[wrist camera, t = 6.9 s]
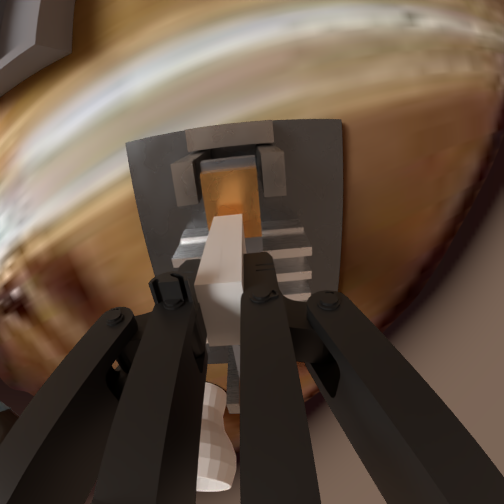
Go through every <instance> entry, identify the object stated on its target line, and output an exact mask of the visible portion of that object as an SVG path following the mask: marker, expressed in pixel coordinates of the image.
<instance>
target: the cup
mask: <svg viewBox="0 0 504 504" xmlns="http://www.w3.org/2000/svg"><path fill="white" fill-rule="evenodd" d="M226 397H227V394H226V392H225V391H224V390H223V389H221V388H220V387H218V386H216V385H214V384H211V383H207V382H205V392H204V402H203V412H202V423H201V434H200V446H199V458H198V472H197V487H196V491H206V492H207V491H208V492H213V491H215V492H216V491H224V490H228V489H230V488H231V486H232V482H233V479H234V475H235V472H236V455H235V452H234V449H233V446H232V443H231V441H230V440H229V438H228V436H227V434H226V432H225V431H224V422H223V415H224V411H225V407H226Z"/></svg>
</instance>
